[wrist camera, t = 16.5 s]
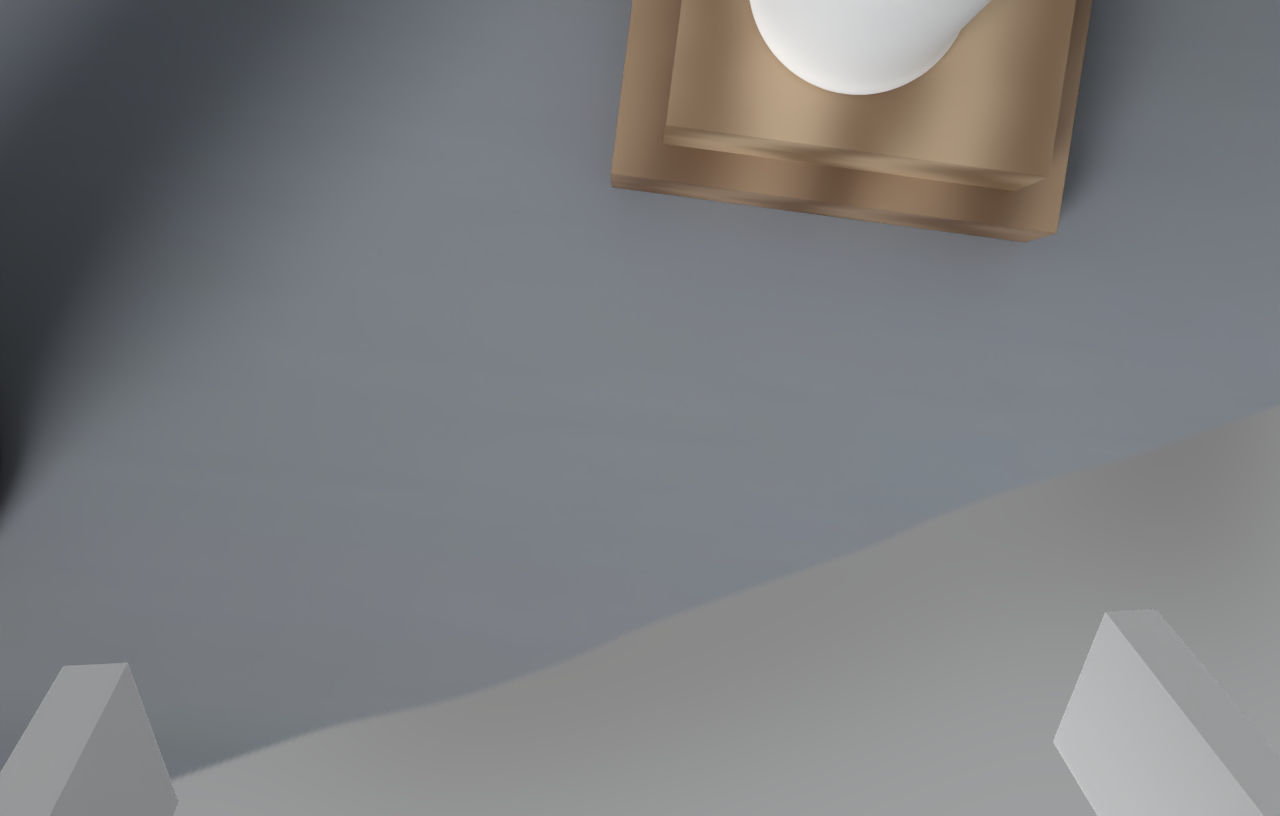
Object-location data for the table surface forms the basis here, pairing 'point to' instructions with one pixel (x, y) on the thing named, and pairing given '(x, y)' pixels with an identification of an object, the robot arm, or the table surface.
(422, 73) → the table surface
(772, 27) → the mug
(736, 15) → the pedestal
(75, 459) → the table surface
